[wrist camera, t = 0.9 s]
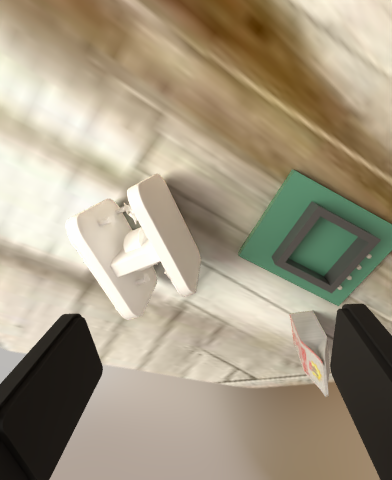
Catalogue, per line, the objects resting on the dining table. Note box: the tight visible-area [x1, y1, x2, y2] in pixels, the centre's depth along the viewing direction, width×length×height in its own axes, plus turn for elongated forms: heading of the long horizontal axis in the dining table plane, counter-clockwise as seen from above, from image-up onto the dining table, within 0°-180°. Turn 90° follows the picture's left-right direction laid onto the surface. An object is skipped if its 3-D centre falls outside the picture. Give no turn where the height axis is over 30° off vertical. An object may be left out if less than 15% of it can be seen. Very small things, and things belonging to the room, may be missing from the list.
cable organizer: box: [66, 174, 201, 320], centre depth 32 cm, size 15×11×12 cm
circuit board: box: [238, 170, 392, 306], centre depth 34 cm, size 14×18×4 cm
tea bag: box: [290, 310, 330, 397], centre depth 37 cm, size 4×7×10 cm, turn 14°
